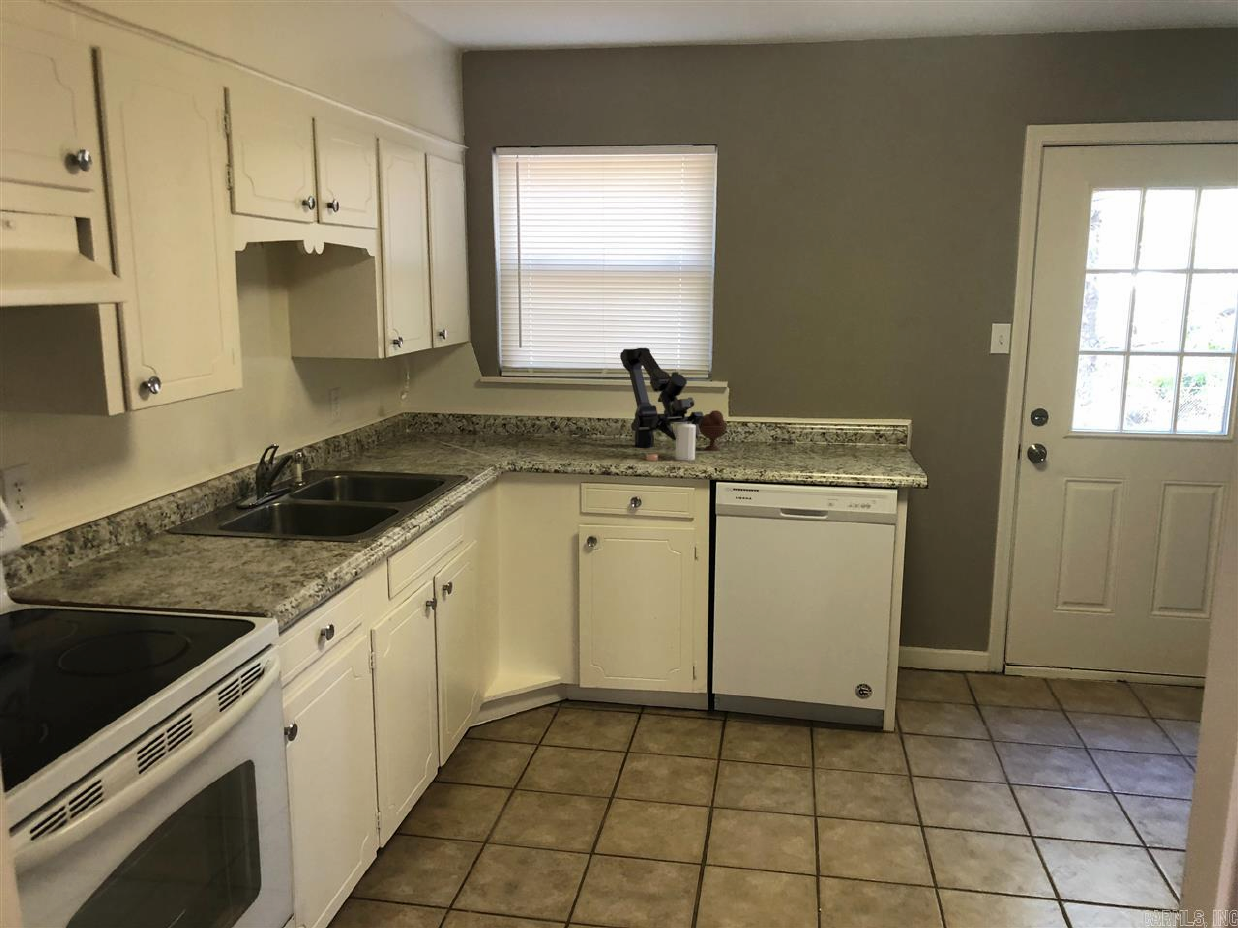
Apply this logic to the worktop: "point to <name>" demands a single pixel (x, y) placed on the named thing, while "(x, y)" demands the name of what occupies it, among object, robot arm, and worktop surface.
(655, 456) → the pink rounded block
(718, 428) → the ice cream bowl
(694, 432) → the tumbler
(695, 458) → the mat
